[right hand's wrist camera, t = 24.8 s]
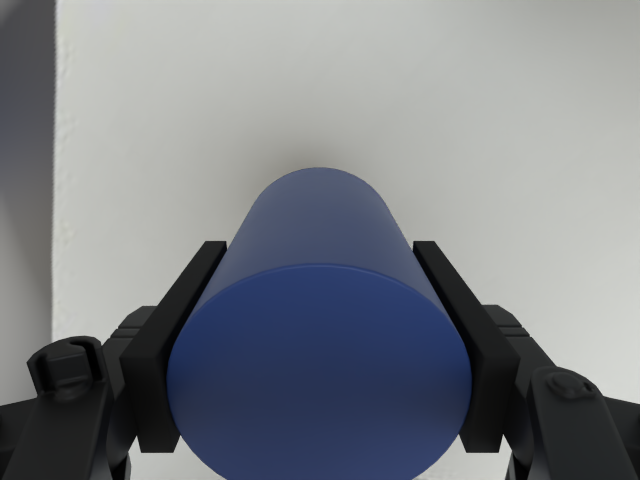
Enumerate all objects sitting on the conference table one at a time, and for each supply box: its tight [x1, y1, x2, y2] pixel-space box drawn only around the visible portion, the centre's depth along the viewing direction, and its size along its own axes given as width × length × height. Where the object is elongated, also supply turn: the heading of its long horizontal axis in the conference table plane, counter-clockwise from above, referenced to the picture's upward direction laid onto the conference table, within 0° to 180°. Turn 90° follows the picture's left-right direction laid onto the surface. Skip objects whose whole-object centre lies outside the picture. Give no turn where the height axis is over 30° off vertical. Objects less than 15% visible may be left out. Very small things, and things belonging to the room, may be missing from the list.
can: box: [166, 168, 472, 480], centre depth 13 cm, size 7×7×10 cm
